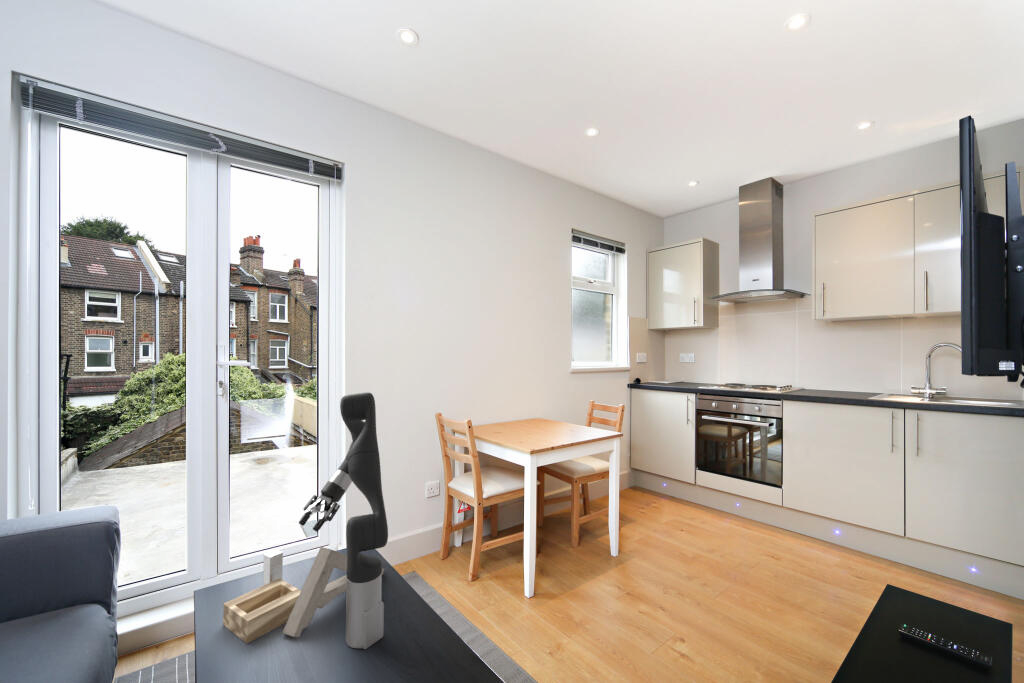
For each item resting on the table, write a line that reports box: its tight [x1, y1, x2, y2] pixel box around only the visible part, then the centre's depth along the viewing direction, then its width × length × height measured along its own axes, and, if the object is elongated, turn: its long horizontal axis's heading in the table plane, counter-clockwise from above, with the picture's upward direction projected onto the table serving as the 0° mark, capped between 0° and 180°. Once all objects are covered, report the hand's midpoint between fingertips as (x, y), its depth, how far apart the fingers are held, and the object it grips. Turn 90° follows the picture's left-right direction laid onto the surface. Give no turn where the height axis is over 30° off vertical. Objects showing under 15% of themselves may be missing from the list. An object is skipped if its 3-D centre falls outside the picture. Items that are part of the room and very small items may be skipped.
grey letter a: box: [282, 546, 386, 639], centre depth 133 cm, size 22×4×30 cm
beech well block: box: [222, 578, 302, 644], centre depth 124 cm, size 14×16×6 cm
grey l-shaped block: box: [262, 548, 284, 586], centre depth 134 cm, size 4×10×13 cm, turn 147°
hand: (307, 527), depth 147 cm, fingers open, 8 cm apart
